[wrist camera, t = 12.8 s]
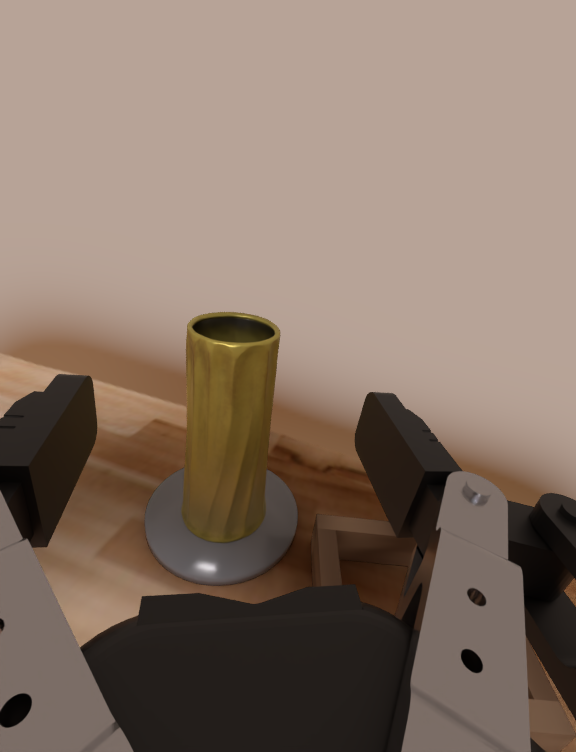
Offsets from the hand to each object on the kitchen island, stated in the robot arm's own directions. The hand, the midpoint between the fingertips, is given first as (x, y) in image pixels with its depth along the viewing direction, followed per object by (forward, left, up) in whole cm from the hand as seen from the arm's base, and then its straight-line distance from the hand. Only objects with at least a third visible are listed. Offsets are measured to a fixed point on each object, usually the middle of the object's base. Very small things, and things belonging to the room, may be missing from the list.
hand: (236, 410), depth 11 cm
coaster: (-2, +11, -16) cm, 20 cm away
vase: (-2, +11, -16) cm, 19 cm away
